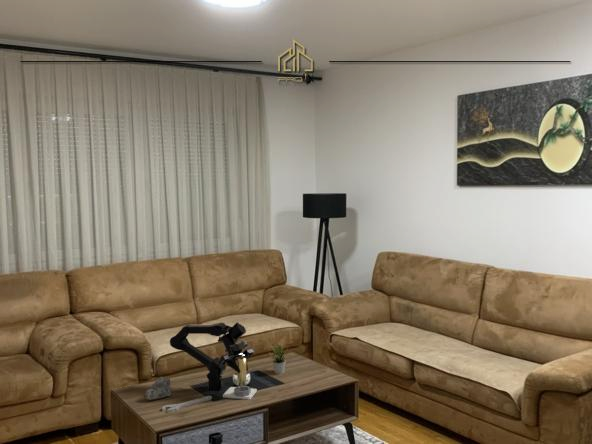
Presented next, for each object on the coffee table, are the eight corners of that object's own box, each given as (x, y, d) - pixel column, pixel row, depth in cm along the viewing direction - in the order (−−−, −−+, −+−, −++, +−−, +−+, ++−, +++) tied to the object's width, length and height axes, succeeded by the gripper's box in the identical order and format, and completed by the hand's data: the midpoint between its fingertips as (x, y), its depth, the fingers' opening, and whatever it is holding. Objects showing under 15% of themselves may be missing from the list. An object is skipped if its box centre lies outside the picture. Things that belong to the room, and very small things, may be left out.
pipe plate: (222, 397, 282) (222, 390, 281) (230, 389, 293) (230, 382, 292) (249, 399, 278) (249, 392, 278) (256, 391, 289) (256, 384, 289)
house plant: (264, 368, 324) (263, 340, 323) (288, 366, 326) (287, 338, 325) (267, 376, 310) (266, 347, 309) (292, 374, 312) (292, 345, 311)
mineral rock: (146, 403, 276) (145, 382, 275) (144, 395, 286) (143, 375, 286) (173, 399, 280) (172, 379, 280) (170, 391, 291) (170, 372, 290)
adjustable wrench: (210, 398, 282) (210, 394, 282) (215, 402, 277) (215, 399, 277) (161, 409, 269) (161, 405, 269) (165, 414, 263) (165, 410, 263)
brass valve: (236, 385, 281) (235, 356, 280) (239, 381, 286) (239, 353, 284) (244, 385, 280) (244, 357, 279) (247, 382, 284) (247, 354, 283)
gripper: (221, 339, 278) (234, 367, 270) (251, 332, 290) (265, 358, 283) (212, 351, 284) (225, 379, 277) (242, 344, 296) (255, 370, 289)
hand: (243, 371), depth 281 cm, fingers closed on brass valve, 4 cm apart
